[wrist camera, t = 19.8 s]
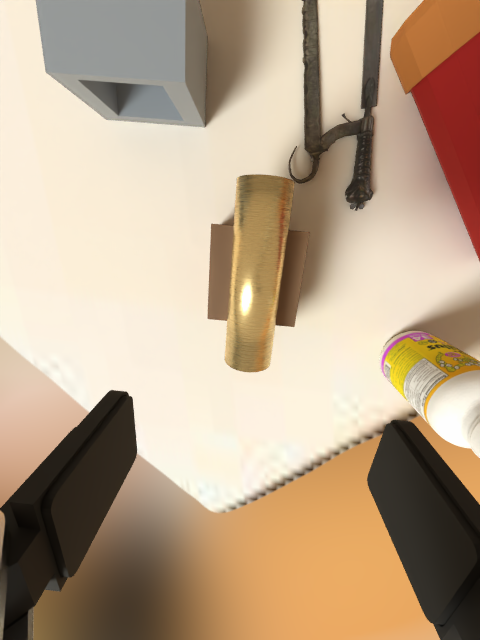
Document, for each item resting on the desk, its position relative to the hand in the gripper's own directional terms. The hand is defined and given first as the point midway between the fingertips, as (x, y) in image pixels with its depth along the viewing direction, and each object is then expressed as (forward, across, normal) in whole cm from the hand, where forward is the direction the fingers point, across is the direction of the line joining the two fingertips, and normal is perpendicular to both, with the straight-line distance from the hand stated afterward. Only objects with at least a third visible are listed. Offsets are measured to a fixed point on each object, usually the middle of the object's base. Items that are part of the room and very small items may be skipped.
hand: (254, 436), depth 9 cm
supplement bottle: (+19, -18, +5) cm, 26 cm away
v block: (+19, 0, -3) cm, 19 cm away
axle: (+14, 0, -3) cm, 15 cm away
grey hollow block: (+19, +10, -18) cm, 28 cm away
